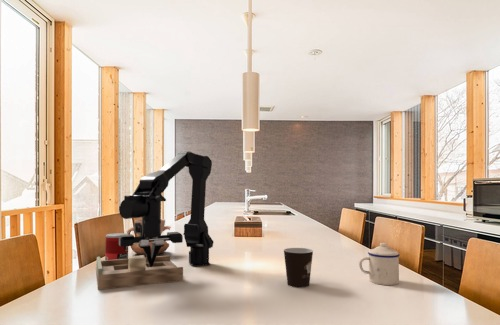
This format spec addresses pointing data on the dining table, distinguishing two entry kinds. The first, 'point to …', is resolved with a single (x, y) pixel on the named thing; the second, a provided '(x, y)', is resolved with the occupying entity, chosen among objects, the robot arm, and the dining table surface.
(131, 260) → the maple block
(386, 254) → the teacup with lid
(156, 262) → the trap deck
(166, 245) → the ceramic jug
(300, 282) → the coffee mug
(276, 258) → the dining table surface
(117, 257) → the canned food
